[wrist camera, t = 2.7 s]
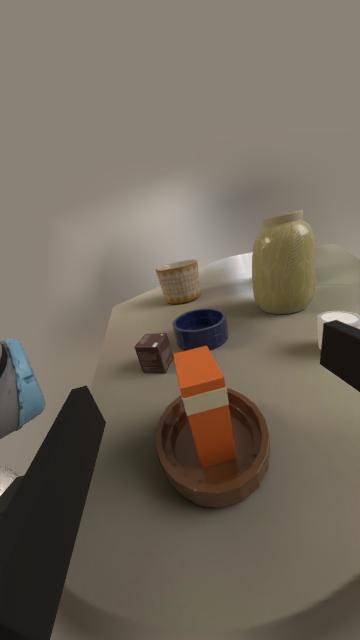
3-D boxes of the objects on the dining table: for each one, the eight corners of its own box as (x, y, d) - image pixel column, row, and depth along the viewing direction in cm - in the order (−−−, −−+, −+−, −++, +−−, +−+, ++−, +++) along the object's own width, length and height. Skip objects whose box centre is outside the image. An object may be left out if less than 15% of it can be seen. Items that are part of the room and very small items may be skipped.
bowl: (165, 528, 20) (157, 511, 19) (160, 414, 33) (155, 399, 32) (297, 489, 21) (298, 469, 19) (239, 392, 34) (238, 377, 33)
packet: (201, 469, 24) (179, 389, 19) (191, 423, 30) (172, 353, 25) (237, 459, 24) (224, 377, 19) (219, 415, 30) (207, 344, 25)
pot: (181, 358, 48) (175, 337, 46) (174, 332, 61) (170, 316, 59) (236, 343, 49) (234, 322, 46) (218, 321, 62) (215, 304, 60)
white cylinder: (365, 357, 35) (372, 324, 33) (321, 358, 38) (324, 326, 35) (347, 338, 41) (352, 308, 39) (310, 339, 44) (312, 311, 41)
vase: (292, 293, 71) (293, 212, 60) (328, 309, 55) (339, 201, 44) (246, 303, 71) (240, 224, 61) (269, 322, 55) (266, 218, 45)
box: (153, 357, 51) (145, 333, 48) (174, 357, 49) (167, 332, 46) (142, 373, 46) (133, 346, 43) (165, 374, 43) (157, 346, 41)
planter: (169, 309, 83) (160, 271, 77) (160, 299, 100) (152, 268, 94) (209, 297, 87) (204, 260, 81) (194, 289, 104) (188, 259, 98)
